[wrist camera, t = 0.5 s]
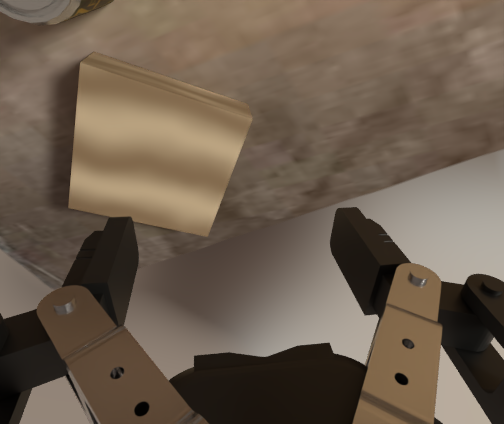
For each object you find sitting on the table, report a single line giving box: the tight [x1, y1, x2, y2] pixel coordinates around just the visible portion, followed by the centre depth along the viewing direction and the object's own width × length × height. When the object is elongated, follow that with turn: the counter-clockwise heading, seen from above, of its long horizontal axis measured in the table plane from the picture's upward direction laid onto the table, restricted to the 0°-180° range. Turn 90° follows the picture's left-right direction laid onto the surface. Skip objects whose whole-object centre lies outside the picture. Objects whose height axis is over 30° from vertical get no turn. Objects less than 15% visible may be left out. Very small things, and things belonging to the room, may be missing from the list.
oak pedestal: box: [68, 52, 252, 237], centre depth 32 cm, size 14×14×4 cm
